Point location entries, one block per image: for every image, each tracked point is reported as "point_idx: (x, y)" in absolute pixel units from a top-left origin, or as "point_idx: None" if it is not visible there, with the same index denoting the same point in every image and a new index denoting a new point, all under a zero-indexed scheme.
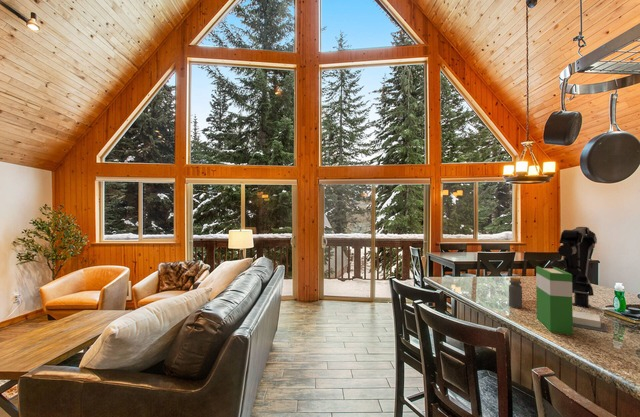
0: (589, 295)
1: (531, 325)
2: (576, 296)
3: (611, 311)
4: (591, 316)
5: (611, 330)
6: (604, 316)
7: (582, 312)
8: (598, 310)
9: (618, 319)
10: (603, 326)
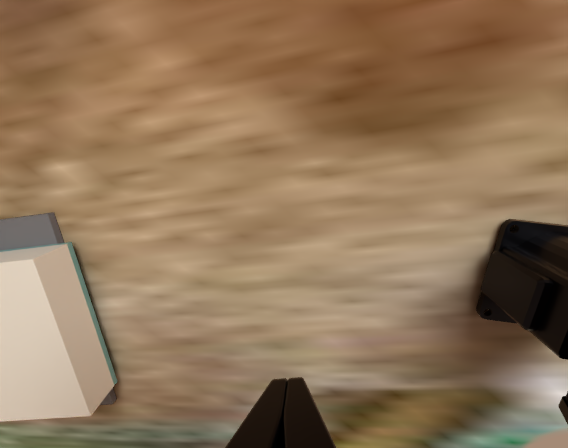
0: (562, 402)
1: None
2: (558, 284)
3: (480, 420)
4: (6, 388)
5: None
6: None
7: (58, 344)
8: (451, 365)
9: None
10: None
